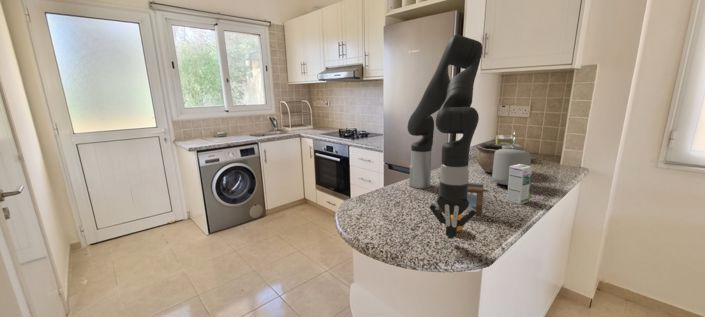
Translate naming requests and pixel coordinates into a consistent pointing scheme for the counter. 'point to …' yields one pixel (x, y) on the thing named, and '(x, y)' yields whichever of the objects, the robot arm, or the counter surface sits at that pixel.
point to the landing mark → (472, 200)
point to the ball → (458, 219)
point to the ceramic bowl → (489, 154)
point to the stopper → (475, 185)
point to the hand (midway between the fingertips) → (450, 237)
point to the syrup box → (519, 183)
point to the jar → (508, 162)
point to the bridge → (478, 202)
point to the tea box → (505, 139)
